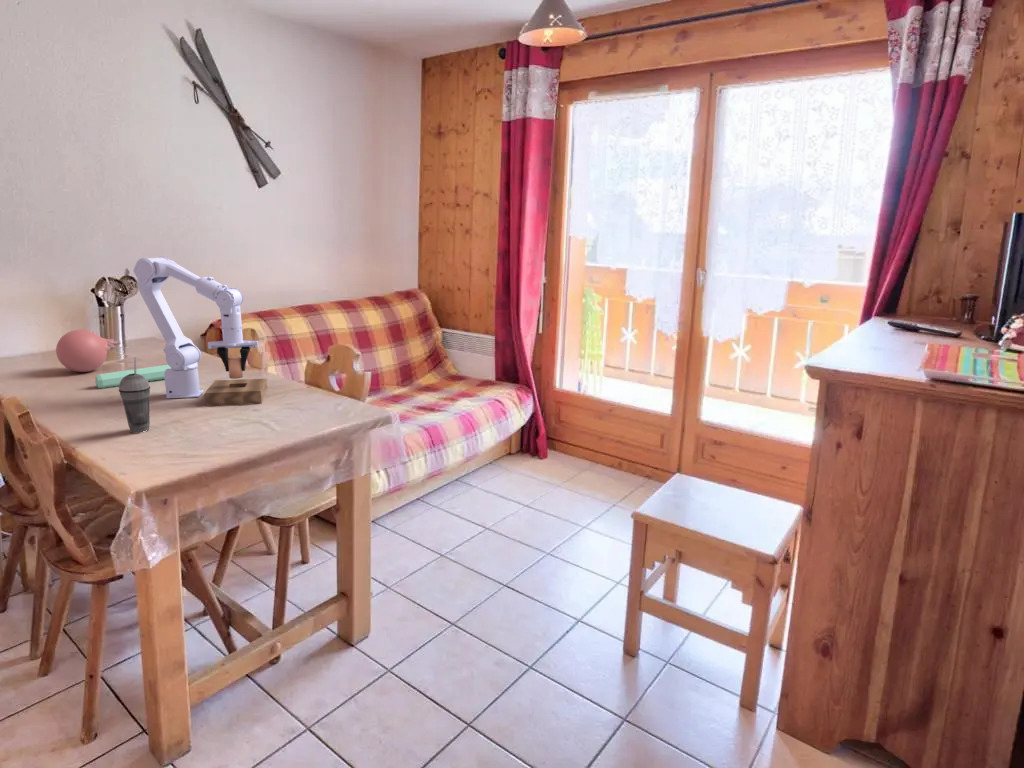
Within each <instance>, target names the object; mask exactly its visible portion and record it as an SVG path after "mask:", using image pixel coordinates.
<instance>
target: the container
mask: <svg viewBox="0 0 1024 768" xmlns="http://www.w3.org/2000/svg"><path fill="white" fill-rule="evenodd" d="M166 369H171V367H170V366H169V365H168V364H163V365H156V366H155V365H154V366H149V367H141V368H136V374H140V375H142V376H144V377H145V378H146V379H147V381H150V382H155V381H154V380H157V381H162V379H163V380H165V370H166ZM128 374H134V368H133V369H126V370H119V371H113V372H106V373H99V374H97V375H96V376H95V381H94V383H95V384H96V387H97V388H99V389H107V387H108V388H114V387H113V386H115V387H119V384H120V382H121V380H122V379H123V378H124V377H125V376H126V375H128Z"/></svg>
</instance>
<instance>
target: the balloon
mask: <svg viewBox="0 0 1024 768" xmlns="http://www.w3.org/2000/svg"><path fill="white" fill-rule="evenodd" d="M117 345H121V341H119V340H114V339H113V338H105V337H104V338H103V337H101V336H100V335H99V334H97V333H95V332H93V331H91V330H87V329H74V330H71V331H69V332H66V333H65V334H63V335H62V336H61V337H60V339H59V340H58V341H57V344H56V348H55V353H56V356H57V357H56V358H57V360H58V361H59V362H60V364H62V366H63V367H65V368H66V369H67V370H69V371H73V372H77V373H87V372H92V371H94V370H97V369H98V368H99V367H101V366H102V365H103V364H104V362H105V361H106V359H107V356H108V353H109V351H110V350H112V349H115V348H116V346H117Z"/></svg>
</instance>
